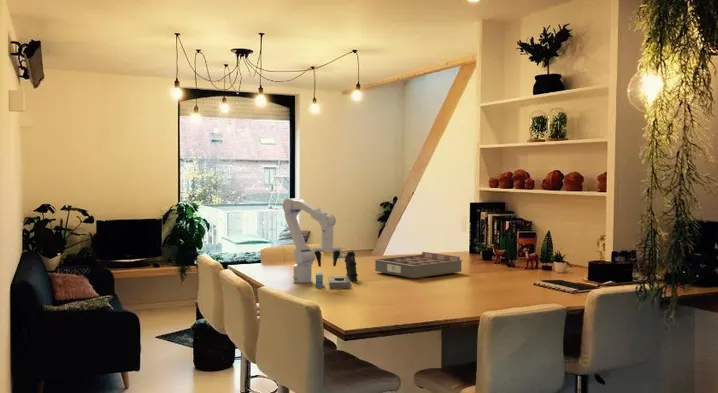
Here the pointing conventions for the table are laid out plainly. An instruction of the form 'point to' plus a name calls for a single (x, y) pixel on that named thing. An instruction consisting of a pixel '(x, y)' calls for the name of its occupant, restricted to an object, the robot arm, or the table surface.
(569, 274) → the table surface
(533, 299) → the table surface
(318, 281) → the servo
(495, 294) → the table surface
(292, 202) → the robot arm
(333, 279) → the chassis
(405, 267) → the organizer tray
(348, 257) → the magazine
